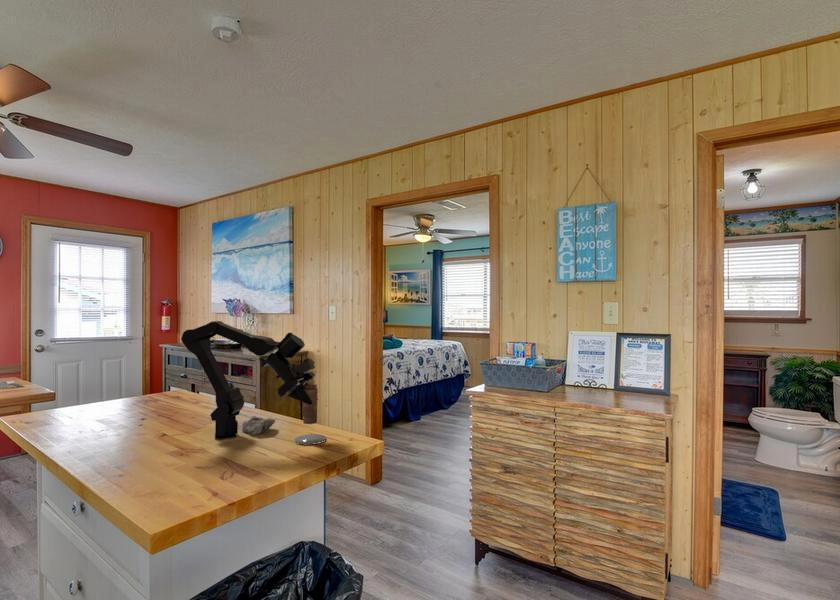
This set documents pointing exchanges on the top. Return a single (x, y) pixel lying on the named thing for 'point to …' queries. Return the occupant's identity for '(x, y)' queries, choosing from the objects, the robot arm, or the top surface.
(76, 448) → the top surface
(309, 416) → the pepper mill
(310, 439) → the slate coaster
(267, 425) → the mineral specimen
